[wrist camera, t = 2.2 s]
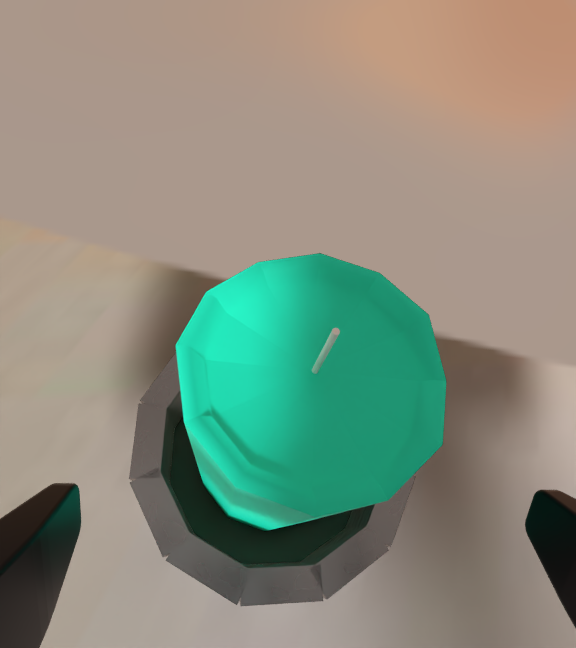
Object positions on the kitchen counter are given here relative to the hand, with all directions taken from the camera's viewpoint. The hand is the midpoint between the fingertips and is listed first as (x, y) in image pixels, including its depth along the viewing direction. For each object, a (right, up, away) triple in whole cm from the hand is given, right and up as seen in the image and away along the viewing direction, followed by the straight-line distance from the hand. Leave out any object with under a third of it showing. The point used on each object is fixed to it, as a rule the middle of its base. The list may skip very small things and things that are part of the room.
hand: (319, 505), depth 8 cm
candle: (-1, -2, +10) cm, 11 cm away
